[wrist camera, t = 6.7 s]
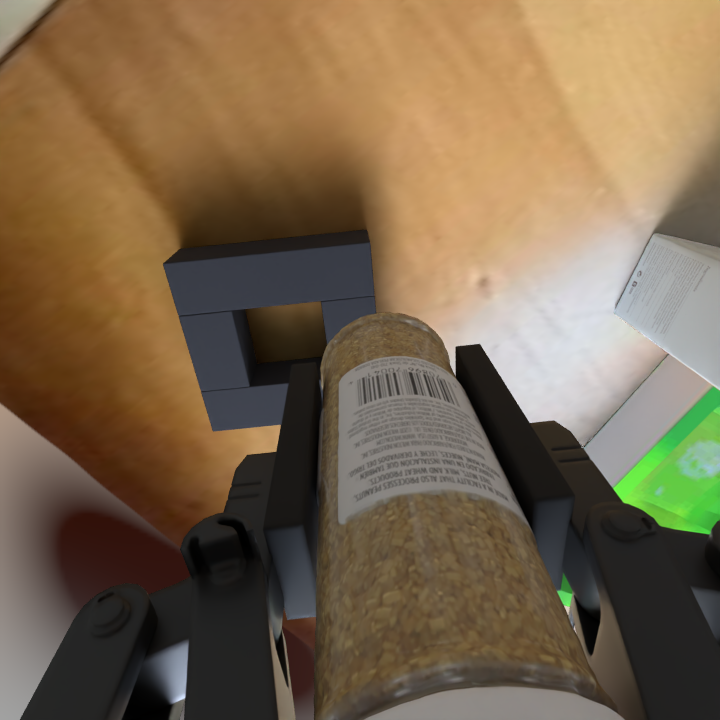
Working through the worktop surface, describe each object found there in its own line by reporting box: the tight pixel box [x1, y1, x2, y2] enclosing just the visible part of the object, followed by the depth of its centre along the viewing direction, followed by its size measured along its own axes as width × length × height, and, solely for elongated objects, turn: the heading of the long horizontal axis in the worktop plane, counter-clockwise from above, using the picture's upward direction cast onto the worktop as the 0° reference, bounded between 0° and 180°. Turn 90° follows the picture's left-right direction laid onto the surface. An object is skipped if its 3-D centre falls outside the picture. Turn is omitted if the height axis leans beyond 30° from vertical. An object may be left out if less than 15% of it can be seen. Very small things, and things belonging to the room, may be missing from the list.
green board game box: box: [557, 354, 720, 607], centre depth 43 cm, size 25×25×5 cm
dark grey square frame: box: [163, 230, 376, 431], centre depth 33 cm, size 13×13×4 cm
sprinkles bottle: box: [314, 312, 625, 720], centre depth 11 cm, size 5×5×14 cm
